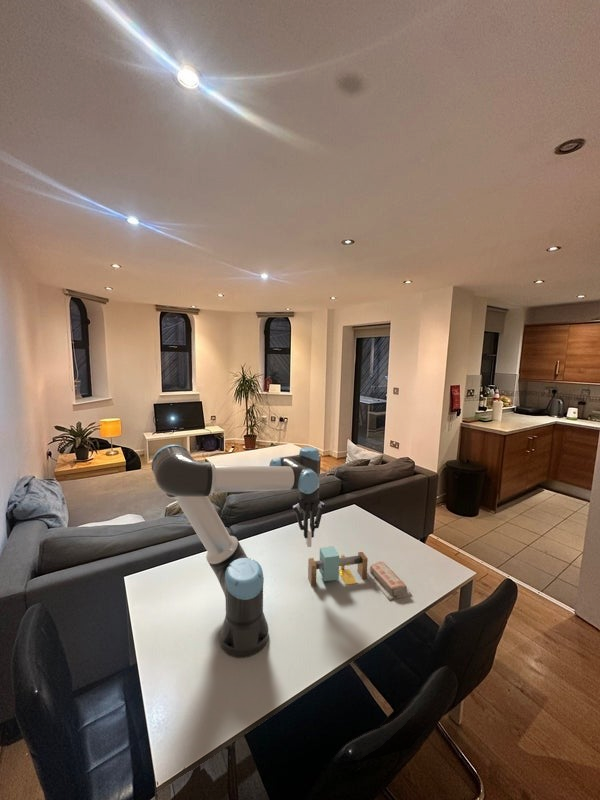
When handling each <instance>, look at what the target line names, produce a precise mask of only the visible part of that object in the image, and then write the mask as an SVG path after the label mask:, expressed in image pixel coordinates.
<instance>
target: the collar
mask: <svg viewBox="0 0 600 800" xmlns="http://www.w3.org/2000/svg"><path fill="white" fill-rule="evenodd" d="M339 558H340V554H339V553H338V551H337V549H336V548H335V546H326V547H320V548H319V561H320V560H322V562H323V564H324V568H323V569H318V570H319V574H320V575H321V577H322V580H323V581H324V582H330V581H335V580H336V581H337V580H340V579H339V578H340V574H339V570H340V566H339Z"/></svg>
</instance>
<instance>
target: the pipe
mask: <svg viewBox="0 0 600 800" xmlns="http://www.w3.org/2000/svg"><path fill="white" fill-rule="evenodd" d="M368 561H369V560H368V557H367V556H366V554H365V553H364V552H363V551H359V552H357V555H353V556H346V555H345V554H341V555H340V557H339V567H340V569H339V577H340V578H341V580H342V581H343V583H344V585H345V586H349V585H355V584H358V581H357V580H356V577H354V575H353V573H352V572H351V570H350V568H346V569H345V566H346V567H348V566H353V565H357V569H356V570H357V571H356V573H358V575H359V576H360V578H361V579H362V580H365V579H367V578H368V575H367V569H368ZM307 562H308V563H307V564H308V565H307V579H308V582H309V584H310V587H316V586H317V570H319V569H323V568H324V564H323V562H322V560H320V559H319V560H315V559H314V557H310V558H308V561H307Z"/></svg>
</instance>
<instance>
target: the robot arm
mask: <svg viewBox="0 0 600 800" xmlns="http://www.w3.org/2000/svg"><path fill="white" fill-rule="evenodd" d="M320 460H321V459H320V450H319V449H318V448H316V447H313V446H305V447H301V448H300V449H299V453H298V454H295V455H289V456H282V457H275V458H272V459H271V460H270V461H269V465H214V464H213V463H212V462H211V461H200V460H196V459H194V458H193V457H192V456H191V453H190V452H189V450H187V449H186V447H184V446H181V445H180V444H167V445H164V446H163V447H160V448H159V449H158V450H157V452H155V453H154V455H153V457H152V461H151V470H152V473H153V476H154V478H155V482H156V485H157V486H158V488H159V489H160V490H161V491H162V492H163V493H165V495H166V496H167V497H168V498H170V499H175V501H176V502H177V504H178V505H179V507H180V508H181V510H182V513H184V515H185V516H186V519H187V520H188V521H189V524H190V525H191V527H192V529H193V530H194V531H195V533H196V535H197V537H198V538H199V540H200V542H201V544H203V546H204V549H205V550H206V555H205V557H206V561H207V562H208V565H209V566H210V568H211V569H212V571H213V573H214V574H215V576H216V578H217V581H218V582H219V585H220V587H221V590H222V592H223V594H224V597H225V598H224V599H225V618H224V620H223V623H222V626H221V629H220V634H219V643H220V646H221V649H222V650H223V651H224V652H225V653H226V654H227V655H229V656H231V657H234V658H247V657H251V656H254V655H256V654H257V653H259V652H260V651H262V649H264V647H265V646H266V644H267V642H268V639H269V624H268V622H267V619H266V616H265V613H264V580H265V579H264V572H263V571H264V570H263V568H262V566H261V564H260V563H259V562H258V561H256V560H255V559H251V558H249V556H248V555H247V554H246V552H245V550H244V549H243V547H242V545H241V544H240V542H239V540H238V539H237V536H234V535H230V534H229V532H228V530H227V528H226V527H225V524H224V522H223V521H222V519H221V517H220V515H219V514H218V512H217V510H216V509H215V506H214V505H213V503H212V501H211V500H210V498H209V496H211V495H212V494H213V493H232V492H233V493H235V492H236V493H237V492H241V493H242V492H263V491H265V492H266V491H268V492H269V491H270V492H271V491H299V495H298V496H299V499H298V501H297V504H292V509H293V510H294V512H295V515H296V519H297V524H298V527H299V529H300V531H303V538H305V545H306V547H307V548H312V540H313V539H312V538H315V529H319V527H320V523H321V521H322V520H321V519H322V515H323V513H324V512H323V511H324V509H325V508H326V504H325V503H324V501H321V500H320ZM317 507H318V508H317ZM300 509H302V512H303V521H302V517H301V513H300ZM316 510H317V512H316ZM315 514H316V515H315Z"/></svg>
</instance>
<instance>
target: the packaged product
mask: <svg viewBox="0 0 600 800" xmlns="http://www.w3.org/2000/svg"><path fill="white" fill-rule="evenodd" d="M367 577H369V578H370V579H371V580H372V581H373V583H374V584H375V586H376V587H377V588H378V589H379V590H380V592H382V594H383V595H384V596H385V597H386V598H387V599H388V600H389V601H393V600H396V599H401V598H404V597H408V596H411V590H409V588H407V585H406V584H405V583H404V581H403V580H402V579H400V577H399V576H398V575H396V573H395V572H394V571H392V569H390V567H389V566H388V565H387V564H386V563H385V561H377V562H376V563H373V564H372V565H370V567H369V568H367Z"/></svg>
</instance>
